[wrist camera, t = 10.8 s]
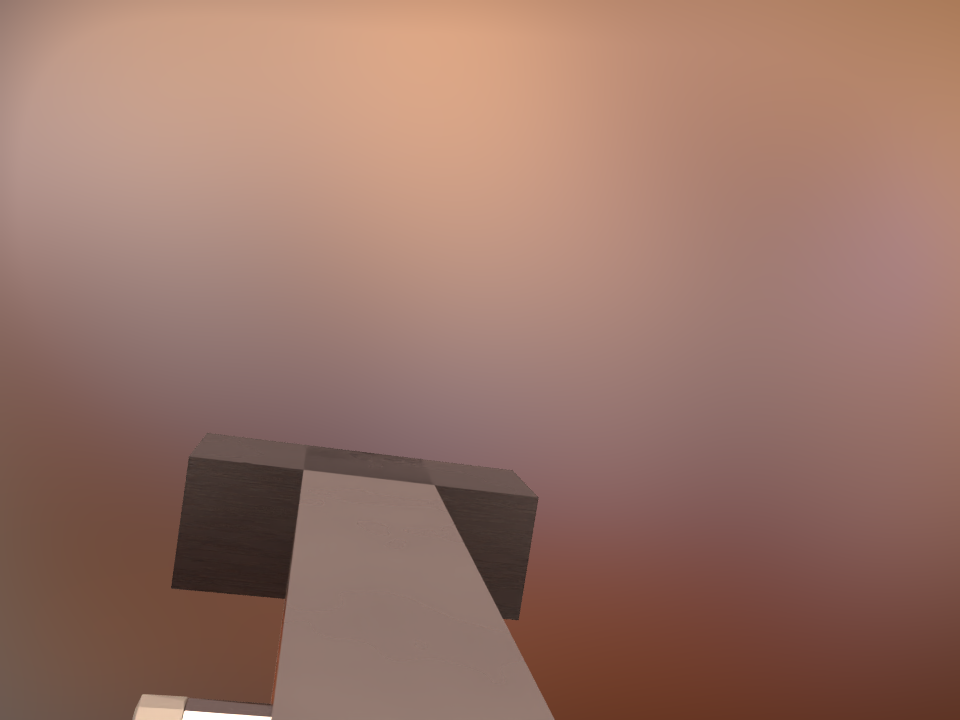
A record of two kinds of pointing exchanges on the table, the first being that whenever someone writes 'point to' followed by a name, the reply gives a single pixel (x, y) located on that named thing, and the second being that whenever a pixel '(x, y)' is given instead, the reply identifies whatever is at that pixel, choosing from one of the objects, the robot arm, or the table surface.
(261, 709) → the robot arm
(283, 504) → the steel T-bar
